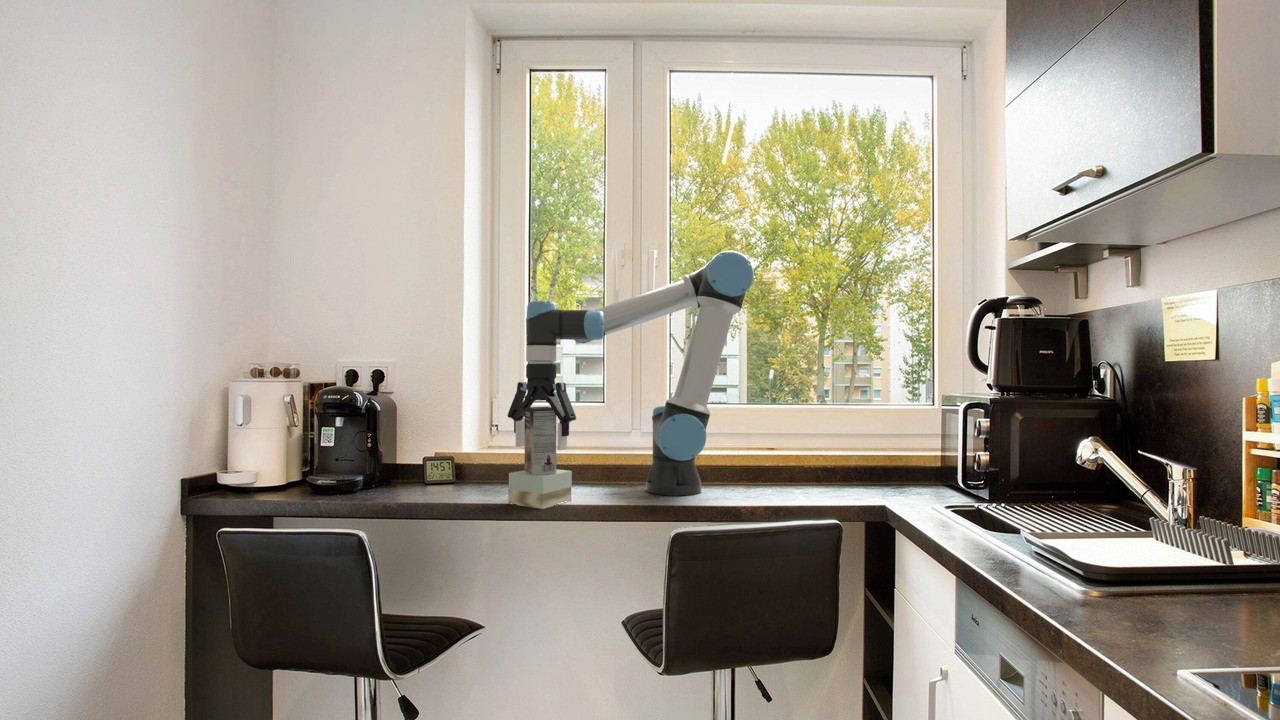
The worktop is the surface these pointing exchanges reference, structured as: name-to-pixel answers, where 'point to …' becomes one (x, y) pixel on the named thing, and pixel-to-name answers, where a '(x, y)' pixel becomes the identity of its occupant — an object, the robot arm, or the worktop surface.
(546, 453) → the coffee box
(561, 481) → the slab top
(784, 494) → the worktop surface
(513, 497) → the slab bottom
